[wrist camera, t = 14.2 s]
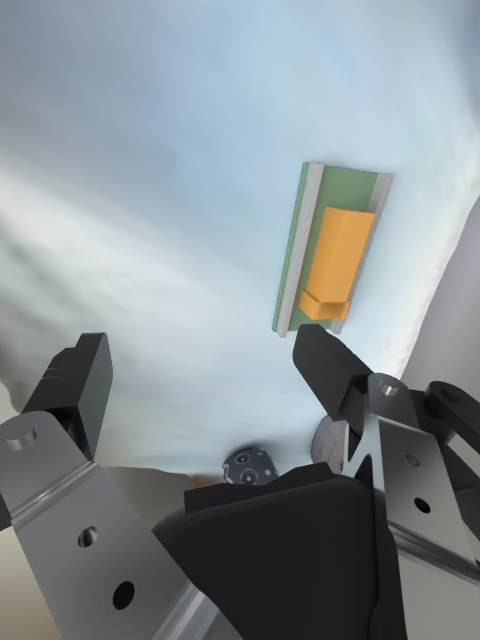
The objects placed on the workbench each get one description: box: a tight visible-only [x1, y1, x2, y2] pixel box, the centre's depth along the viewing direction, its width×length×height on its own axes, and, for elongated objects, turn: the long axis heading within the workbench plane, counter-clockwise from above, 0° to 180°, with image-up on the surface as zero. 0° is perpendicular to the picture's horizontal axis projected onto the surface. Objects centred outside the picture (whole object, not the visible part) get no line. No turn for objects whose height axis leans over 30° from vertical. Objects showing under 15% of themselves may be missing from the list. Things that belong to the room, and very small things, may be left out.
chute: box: [298, 206, 375, 320], centre depth 40 cm, size 16×6×5 cm, turn 174°
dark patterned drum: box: [222, 448, 279, 485], centre depth 56 cm, size 11×20×20 cm, turn 2°
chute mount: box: [272, 163, 394, 338], centre depth 41 cm, size 26×13×3 cm, turn 174°
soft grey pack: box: [311, 415, 348, 474], centre depth 66 cm, size 15×8×20 cm
